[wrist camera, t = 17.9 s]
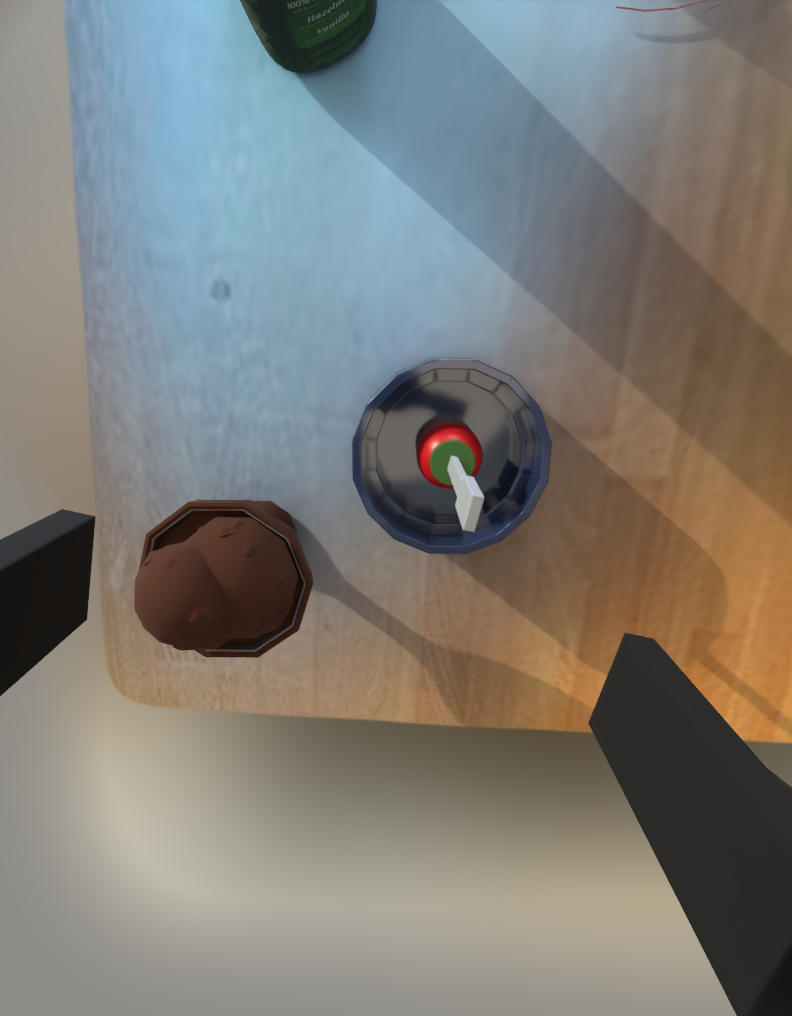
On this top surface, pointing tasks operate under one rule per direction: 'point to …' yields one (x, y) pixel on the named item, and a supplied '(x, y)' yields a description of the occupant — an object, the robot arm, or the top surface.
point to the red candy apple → (453, 465)
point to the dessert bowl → (496, 423)
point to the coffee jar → (310, 29)
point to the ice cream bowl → (223, 578)
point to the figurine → (664, 9)
